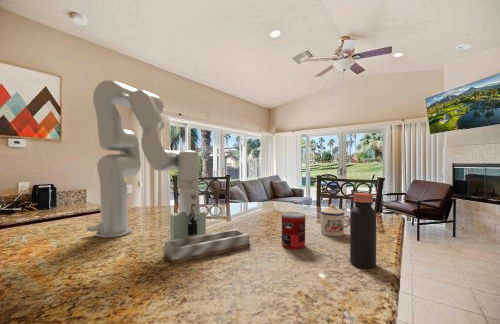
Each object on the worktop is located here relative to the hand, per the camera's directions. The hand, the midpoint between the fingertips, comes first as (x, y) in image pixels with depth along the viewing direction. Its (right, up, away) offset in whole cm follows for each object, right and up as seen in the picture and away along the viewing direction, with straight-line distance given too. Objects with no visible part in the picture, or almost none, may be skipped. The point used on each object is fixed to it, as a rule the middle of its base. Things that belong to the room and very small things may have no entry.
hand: (188, 231), depth 92 cm
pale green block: (0, -3, 0) cm, 3 cm away
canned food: (+38, -3, -6) cm, 38 cm away
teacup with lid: (+57, -3, +8) cm, 58 cm away
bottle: (+55, -3, -21) cm, 59 cm away
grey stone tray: (+9, -3, -11) cm, 14 cm away
